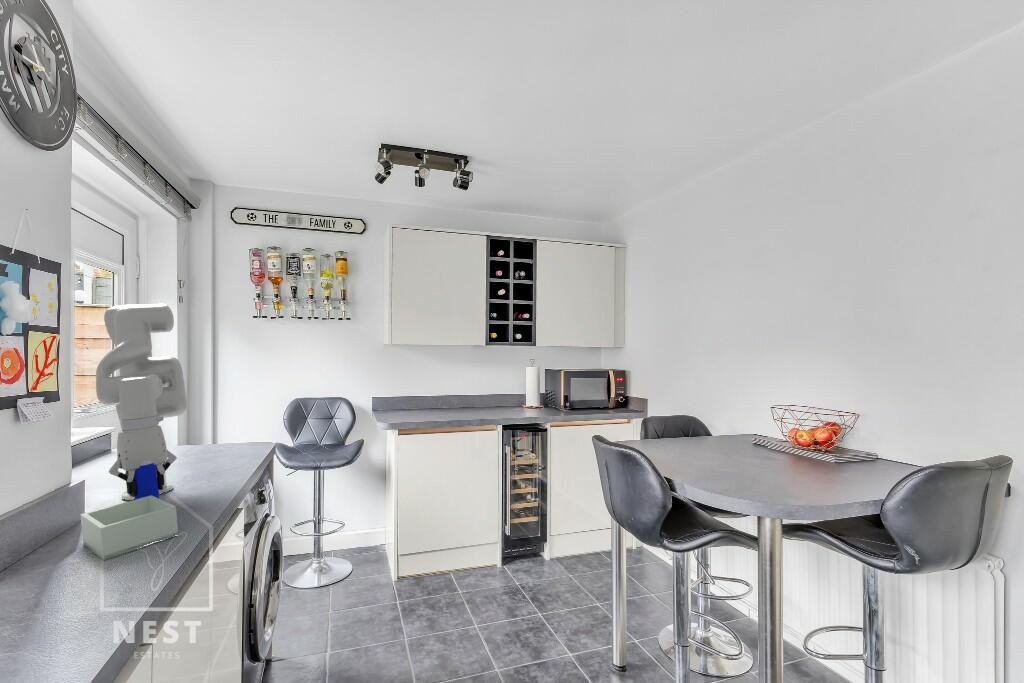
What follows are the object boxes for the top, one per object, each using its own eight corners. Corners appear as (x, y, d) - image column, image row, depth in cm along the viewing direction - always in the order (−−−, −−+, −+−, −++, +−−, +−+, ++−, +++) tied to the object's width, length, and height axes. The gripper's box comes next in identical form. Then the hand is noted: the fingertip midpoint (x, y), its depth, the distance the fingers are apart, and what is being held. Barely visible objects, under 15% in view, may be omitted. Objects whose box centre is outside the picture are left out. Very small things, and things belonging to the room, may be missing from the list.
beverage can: (165, 512, 135) (160, 457, 134) (145, 520, 130) (140, 462, 129) (151, 511, 136) (146, 456, 136) (131, 518, 132) (126, 462, 131)
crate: (83, 544, 117) (80, 514, 117) (154, 522, 128) (151, 495, 128) (103, 560, 107) (100, 528, 107) (178, 535, 118) (175, 506, 118)
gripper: (171, 416, 141) (177, 480, 142) (94, 429, 128) (101, 500, 128) (182, 418, 137) (188, 484, 137) (103, 432, 123) (110, 505, 124)
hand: (146, 491), depth 133 cm, fingers closed on beverage can, 5 cm apart
